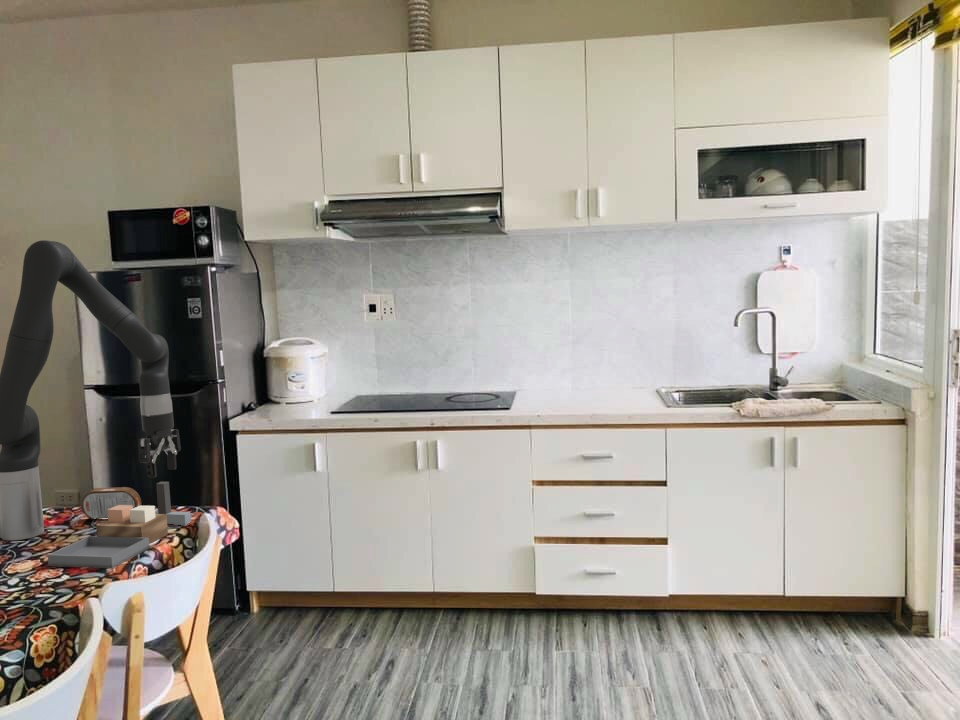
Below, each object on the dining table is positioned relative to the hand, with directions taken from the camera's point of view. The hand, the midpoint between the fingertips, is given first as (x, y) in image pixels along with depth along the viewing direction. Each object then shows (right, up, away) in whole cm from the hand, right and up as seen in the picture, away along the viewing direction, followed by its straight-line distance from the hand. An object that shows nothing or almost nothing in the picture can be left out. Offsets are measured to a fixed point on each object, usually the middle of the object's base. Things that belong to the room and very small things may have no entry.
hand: (162, 473), depth 193 cm
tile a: (-5, -10, -11) cm, 16 cm away
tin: (-17, -14, +8) cm, 23 cm away
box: (-4, -16, -23) cm, 28 cm away
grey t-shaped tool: (0, -13, +1) cm, 14 cm away
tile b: (+1, -9, -12) cm, 16 cm away
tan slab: (-2, -14, -11) cm, 19 cm away
